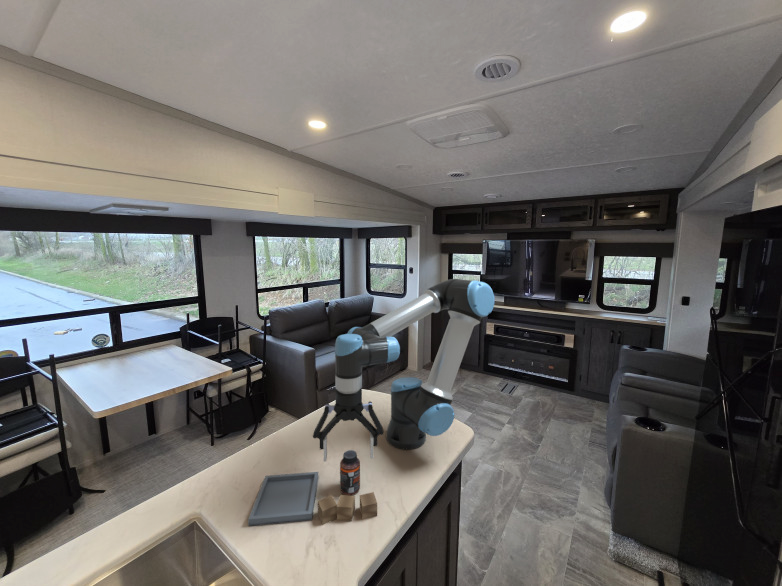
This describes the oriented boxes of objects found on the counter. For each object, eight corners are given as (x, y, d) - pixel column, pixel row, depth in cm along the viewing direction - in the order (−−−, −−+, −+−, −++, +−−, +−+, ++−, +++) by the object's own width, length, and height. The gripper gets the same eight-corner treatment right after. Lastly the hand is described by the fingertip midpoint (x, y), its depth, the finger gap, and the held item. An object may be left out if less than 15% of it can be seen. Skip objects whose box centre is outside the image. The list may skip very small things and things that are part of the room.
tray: (318, 477, 98) (318, 471, 98) (311, 520, 82) (311, 513, 82) (265, 481, 96) (265, 475, 96) (248, 526, 80) (248, 519, 80)
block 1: (332, 508, 86) (331, 494, 86) (337, 518, 83) (337, 504, 83) (318, 514, 84) (317, 500, 84) (322, 525, 81) (322, 511, 80)
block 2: (355, 509, 86) (354, 496, 86) (351, 521, 82) (351, 507, 82) (340, 507, 87) (340, 494, 86) (336, 520, 83) (336, 506, 82)
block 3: (373, 505, 88) (373, 492, 87) (377, 516, 84) (377, 503, 83) (359, 508, 86) (359, 495, 86) (362, 520, 83) (362, 506, 82)
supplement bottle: (356, 498, 90) (356, 462, 88) (337, 495, 91) (336, 459, 90) (362, 483, 96) (362, 449, 94) (344, 480, 97) (343, 446, 95)
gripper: (390, 381, 95) (389, 447, 97) (306, 384, 92) (307, 451, 94) (393, 392, 87) (392, 462, 90) (302, 395, 84) (303, 468, 87)
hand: (348, 457), depth 92 cm, fingers open, 13 cm apart
